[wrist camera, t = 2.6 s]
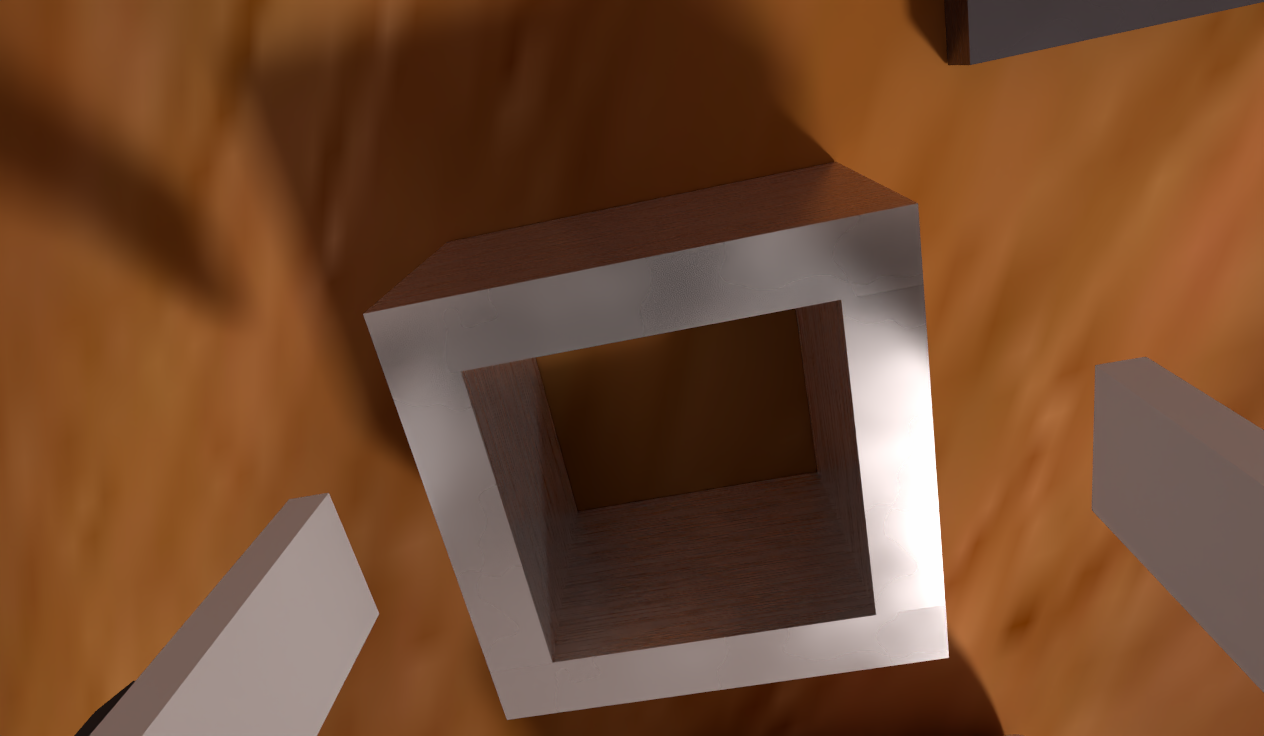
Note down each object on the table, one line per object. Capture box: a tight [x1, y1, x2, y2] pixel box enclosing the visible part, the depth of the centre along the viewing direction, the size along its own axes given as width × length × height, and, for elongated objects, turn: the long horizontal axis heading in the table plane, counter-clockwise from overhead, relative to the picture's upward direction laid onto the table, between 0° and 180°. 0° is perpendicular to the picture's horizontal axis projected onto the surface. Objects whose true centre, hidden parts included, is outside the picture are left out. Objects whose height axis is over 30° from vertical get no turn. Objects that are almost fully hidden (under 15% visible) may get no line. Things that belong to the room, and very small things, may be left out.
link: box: [363, 162, 949, 720], centre depth 16 cm, size 9×9×6 cm
